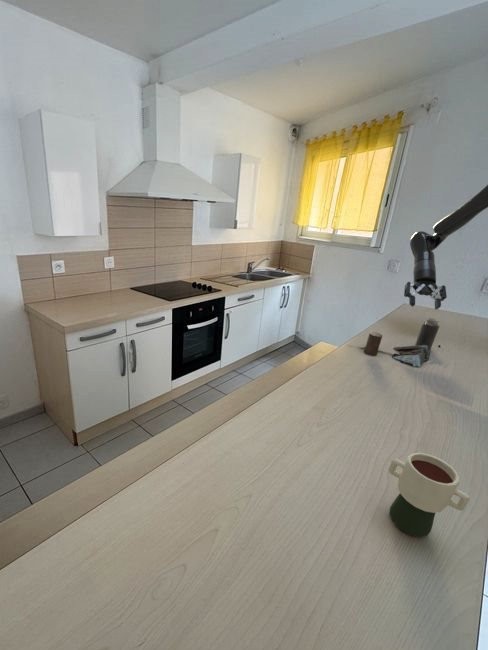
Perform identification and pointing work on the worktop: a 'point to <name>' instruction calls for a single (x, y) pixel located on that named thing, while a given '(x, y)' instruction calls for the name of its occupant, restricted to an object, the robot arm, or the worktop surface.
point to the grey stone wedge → (412, 354)
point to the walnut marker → (373, 343)
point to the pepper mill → (428, 333)
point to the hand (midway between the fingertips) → (425, 307)
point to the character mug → (423, 492)
